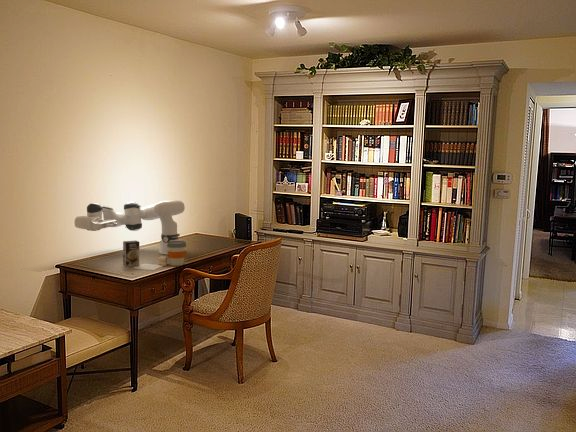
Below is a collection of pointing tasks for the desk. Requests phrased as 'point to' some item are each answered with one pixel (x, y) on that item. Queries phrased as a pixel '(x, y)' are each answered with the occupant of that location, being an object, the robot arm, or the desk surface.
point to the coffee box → (130, 253)
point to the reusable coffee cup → (176, 252)
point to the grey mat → (148, 267)
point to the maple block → (162, 260)
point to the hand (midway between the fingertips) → (114, 225)
